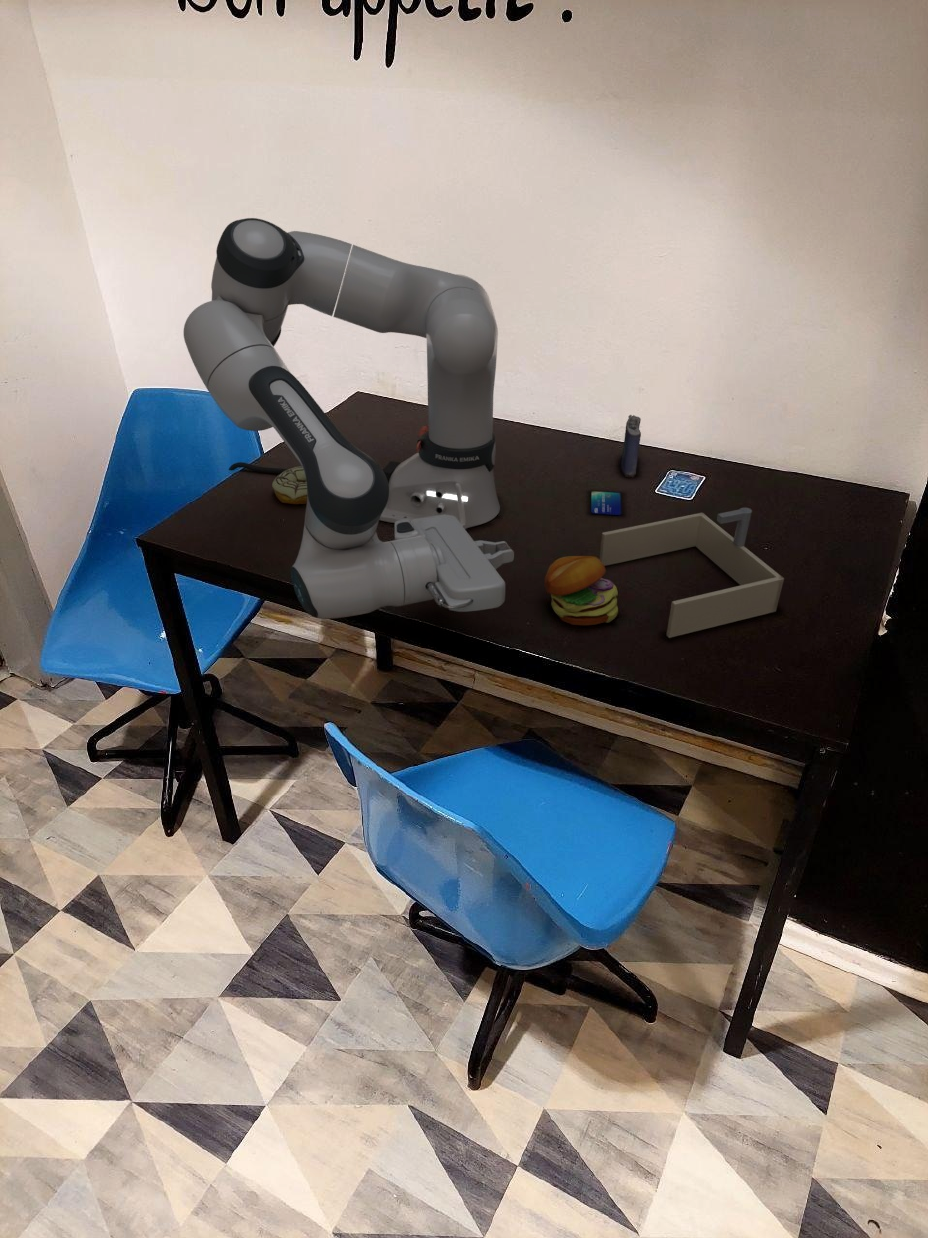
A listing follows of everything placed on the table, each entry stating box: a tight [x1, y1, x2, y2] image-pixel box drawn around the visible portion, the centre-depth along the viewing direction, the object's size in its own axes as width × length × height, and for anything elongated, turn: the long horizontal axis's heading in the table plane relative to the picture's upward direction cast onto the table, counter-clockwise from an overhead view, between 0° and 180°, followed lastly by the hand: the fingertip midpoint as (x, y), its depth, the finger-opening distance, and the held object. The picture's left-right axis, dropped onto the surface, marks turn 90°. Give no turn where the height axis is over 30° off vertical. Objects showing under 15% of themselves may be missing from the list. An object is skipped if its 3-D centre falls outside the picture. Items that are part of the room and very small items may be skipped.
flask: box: [620, 414, 642, 478], centre depth 171 cm, size 9×3×11 cm, turn 172°
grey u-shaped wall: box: [598, 507, 785, 639], centre depth 136 cm, size 19×22×12 cm
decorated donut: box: [271, 465, 308, 505], centre depth 164 cm, size 10×11×4 cm
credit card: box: [590, 490, 622, 516], centre depth 162 cm, size 8×5×1 cm, turn 173°
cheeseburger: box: [544, 555, 619, 626], centre depth 132 cm, size 10×11×10 cm
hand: (510, 550), depth 123 cm, fingers closed
